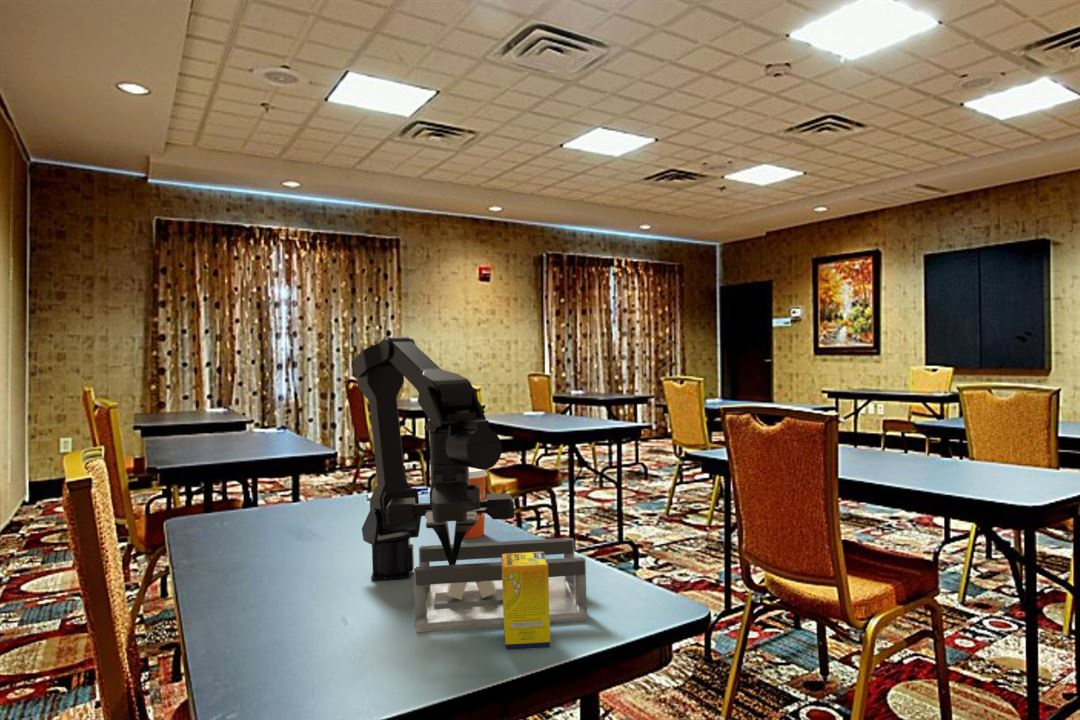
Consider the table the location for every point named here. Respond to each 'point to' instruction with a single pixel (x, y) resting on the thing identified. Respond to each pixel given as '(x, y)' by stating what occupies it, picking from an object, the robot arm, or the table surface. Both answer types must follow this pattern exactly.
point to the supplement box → (525, 601)
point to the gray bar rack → (495, 565)
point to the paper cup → (480, 479)
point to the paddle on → (456, 590)
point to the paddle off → (486, 588)
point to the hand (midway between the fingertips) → (452, 565)
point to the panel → (491, 607)
